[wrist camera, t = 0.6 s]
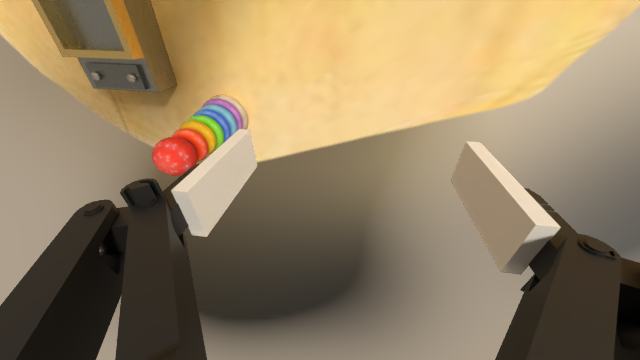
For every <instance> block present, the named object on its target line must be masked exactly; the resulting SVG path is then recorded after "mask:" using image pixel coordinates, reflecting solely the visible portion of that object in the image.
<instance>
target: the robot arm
mask: <svg viewBox="0 0 640 360" xmlns="http://www.w3.org/2000/svg"><path fill="white" fill-rule="evenodd" d="M256 167H257V162H256V157H255V151H254V146H253V141H252V136H251V131H250V130H245V129H239V130H238V131H237V132H235V133H234V134H233V135H232V136H231V137H230V138H229V139H228V140H227V141H225V142H224V143H223V144H222V145H221V146H220V147H219V148H218V149H217V150H215V151H214V152H213V153H212V154H211V155H210V156H209V157H208V158H207V159H205V160H204V161H203V162H202V163H201V164H197V165H195V166H193V167H191V168H190V169H188V170H187V171H186V172H185V173H184V174H183V175H181V176H180V177H179V178H178V180H176V181H175V182H174V183H172V184H171V185H170V186H169V187H168V188H166V189H165V190H164V191H163V192H162V190H161V188H160V186H159V184H158V182H157V181H156V180H154V179H143V180H138V181H135V182H132V183H131V184H129V185H127V186H125V187H124V188H123V189H122V190H121V192H120V194H121V195H122V197H123V198H124V200H125V201H126V203H127V204H128V206H129V207H122V208H116V207H115V205H114V204H113V203H112V201H110V200H99V201H95V202H91V203H90V204H86V205H85V206H83V207H82V208H80V209H79V210H78V211H76V212H75V213H74V215H73V216H72V217H71V218H70V220H69V221H68V222H67V223H66V225H65V226H64V227H63V228H62V230H61V231H60V232H59V233H58V235H57V236H56V237H55V238H54V240H53V241H52V242H51V243H50V245H49V246H48V247H47V248H46V250H45V251H44V252H43V253H42V255H41V256H40V257H39V258H38V260H37V261H36V262H35V263H34V265H33V266H32V267H31V268H30V270H29V271H28V272H27V273H26V275H25V276H24V277H23V278H22V280H21V281H20V282H19V283H18V284H17V286H16V287H15V288H14V289H13V291H12V292H11V293H10V294H9V296H8V297H7V298H6V299H5V301H4V302H3V303H2V304H1V306H0V360H96V358H97V355H98V353H99V350H100V347H101V345H102V342H103V340H104V337H105V335H106V332H107V330H108V327H109V325H110V322H111V320H112V317H113V314H114V312H115V309H116V307H117V304H118V302H119V299H120V297H121V294H122V297H121V306H120V317H119V327H118V338H117V348H116V359H115V360H207V357H206V351H205V346H204V340H203V335H202V329H201V323H200V317H199V311H198V305H197V300H196V294H195V289H194V283H193V277H192V271H191V265H190V260H189V254H188V248H187V243H186V237H185V236H184V233H183V232H184V231H185V230H186V228H187V227H189V229H190V231H191V233H192V235H196V236H205V237H207V236H208V234H209V233H210V231H211V230H212V229H213V227H214V226H215V224H216V223H217V222H218V220H219V219H220V217H221V216H222V215H223V213H224V212H225V210H226V209H227V208H228V206H229V205H230V203H231V202H232V201H233V199H234V198H235V196H236V195H237V194H238V192H239V191H240V189H241V188H242V187H243V185H244V184H245V182H246V181H247V180H248V178H249V177H250V175H251V174H252V173H253V171H254V170H255V168H256ZM451 182H452V184H453V186H454V187H455V189H456V191H457V193H458V195H459V197H460V198H461V200H462V202H463V204H464V206H465V208H466V210H467V211H468V213H469V215H470V217H471V219H472V221H473V222H474V224H475V226H476V228H477V230H478V232H479V233H480V235H481V237H482V239H483V241H484V243H485V244H486V246H487V248H488V250H489V252H490V254H491V255H492V257H493V259H494V261H495V263H496V264H497V266H498V268H499V270H500V272H505V273H513V274H522V273H523V271H524V270H525V269H526V268H527V267H528V265H529V266H530V267H531V269H532V270H533V272H534V273H535V274H534V275H533V276H532V277H531V279H530V280H529V281H528V282H527V283H526V284H525V285H524V286H523V287H522V289H521V290H522V291H523V292H524V291H525V292H524V294H523V296H522V299H521V301H520V303H519V306H518V308H517V310H516V313H515V315H514V317H513V320H512V322H511V324H510V326H509V329H508V331H507V333H506V336H505V338H504V340H503V343H502V345H501V347H500V350H499V352H498V354H497V357H496V359H495V360H640V263H638V262H634V261H631V260H627V259H624V258H621V257H620V255H619V254H618V253H617V252H616V251H615V250H614V249H613V248H611V247H610V246H609V245H607V244H606V243H604V242H602V241H600V240H598V239H595V238H593V237H590V236H587V235H582V234H578V233H576V231H575V230H574V229H573V228H571V226H570V225H569V224H568V223H566V221H565V220H564V219H563V218H562V217H561V216H560V215H559V214H558V213H556V212H554V209H552V207H551V206H549V205H548V203H547V202H546V201H544V199H543V198H541V196H539V195H538V194H536V193H534V192H533V191H531V190H529V189H525V188H523V187H522V186H521V185H520V184H519V183H518V182H517V181H516V180H515V178H514V177H513V176H512V175H511V174H510V173H509V172H508V171H507V170H506V169H505V168H504V167H503V166H502V165H501V164H500V163H499V162H498V161H497V160H496V158H495V157H494V156H493V155H492V154H491V153H490V152H489V151H488V150H487V149H486V148H485V147H484V146H483V145H482V144H481V143H480V142H466V143H465V145H464V148H463V150H462V153H461V155H460V158H459V161H458V163H457V166H456V168H455V171H454V173H453V176H452V179H451ZM99 249H100V250H101V252H100V251H99Z"/></svg>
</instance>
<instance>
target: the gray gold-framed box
mask: <svg viewBox="0 0 640 360" xmlns="http://www.w3.org/2000/svg"><path fill="white" fill-rule="evenodd" d="M32 2H33V4H34V6H35V7H36V9H37V11H38V13H39V15H40V16H41V18H42V20H43V22H44V24H45V25H46V27H47V29H48V31H49V33H50V34H51V36H52V38H53V40H54V42H55V43H56V45H57V47H58V49H59V51H60V52H61V54H62V56H63V57H78V59H79V61H80V63H81V65H82V67H83V69H84V71H85V73H86V75H87V77H88V78H89V80H90V82H91V84H92V86H93V88H98V89H115V90H133V91H150V92H159V91H162V90H165V89H167V88H170V87H173V86H176V85H177V82H176V79H175V76H174V73H173V70H172V67H171V64H170V61H169V57H168V54H167V51H166V48H165V45H164V42H163V39H162V36H161V33H160V29H159V26H158V23H157V20H156V17H155V14H154V11H153V8H152V5H151V1H150V0H32Z"/></svg>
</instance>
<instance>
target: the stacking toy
mask: <svg viewBox="0 0 640 360" xmlns="http://www.w3.org/2000/svg"><path fill="white" fill-rule="evenodd" d="M247 127H248V115H247V112H246V110H245V108H244V107H243V105H242V104H241V103H240V102H239V101H238V100H236V99H235V98H233V97H231V96H228V95H216V96H214V97H212V98H211V99H210V100H209V101H207V102H206V103H205V104H204V105H203V107H202V108H201V109H200V110H199V111H198V112H196V113H195V114H194V116H193V117H191V118H190V119H189V120H188V121H187V122H185V123H184V124H183V125H182V126H181V127H180V129H179V130H177V131H176V132H175V133H174V134H173V136H172V137H169V138H165V139H163V140H161V141H160V142H158V143H157V144H156V145H155V147H154V149H153V152H152V158H153V162H154V163H155V165H156V167H157V168H158V169H159V170H161V171H162V172H163V173H166V174H168V175H173V176H179V175H183V174H184V173H185V172H186V171H187V170H188V169H190V168H191V167H193V166H195V165H196V163H197V161H201V160H203V159H204V158H205V157H206V156H207V155H208V154H211V153H212V152H213V151H215V150H217V149H218V148H219V147H220V146H221V145H222V144H223V143H224V142H225V141H227V140H228V139H229V138H230V137H231V136H232V135H233V134H234V133H235V132H237V131H238V130H239V129H245V130H246V129H247Z"/></svg>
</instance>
